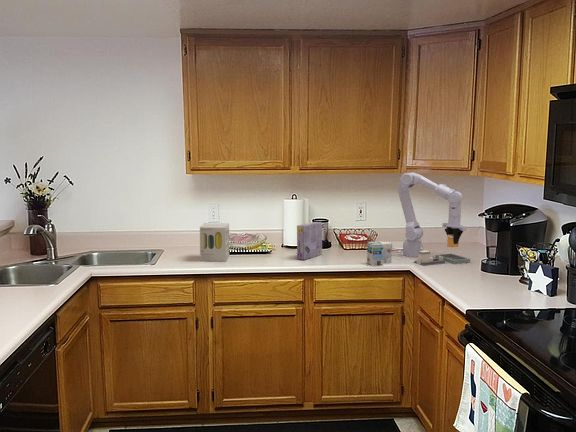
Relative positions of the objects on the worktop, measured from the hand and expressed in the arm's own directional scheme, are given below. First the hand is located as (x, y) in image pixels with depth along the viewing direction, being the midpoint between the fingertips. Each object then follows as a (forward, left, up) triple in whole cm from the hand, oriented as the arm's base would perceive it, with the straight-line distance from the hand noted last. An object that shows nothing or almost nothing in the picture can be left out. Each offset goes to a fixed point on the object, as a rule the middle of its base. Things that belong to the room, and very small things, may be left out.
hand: (453, 243), depth 277 cm
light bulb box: (-11, -36, -10) cm, 39 cm away
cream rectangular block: (0, -18, -9) cm, 20 cm away
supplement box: (-53, -107, -10) cm, 120 cm away
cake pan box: (-39, -60, -10) cm, 72 cm away
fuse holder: (0, -14, -10) cm, 17 cm away
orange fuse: (0, 0, -2) cm, 2 cm away
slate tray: (0, 0, -10) cm, 10 cm away
